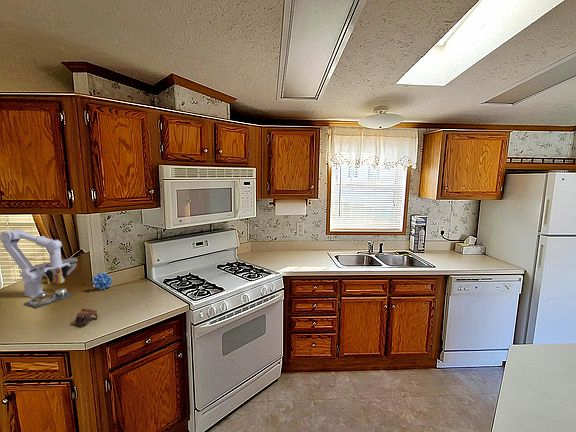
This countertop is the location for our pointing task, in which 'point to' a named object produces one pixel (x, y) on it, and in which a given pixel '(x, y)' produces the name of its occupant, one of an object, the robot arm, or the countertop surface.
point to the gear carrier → (56, 297)
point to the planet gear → (42, 297)
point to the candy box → (55, 275)
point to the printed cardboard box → (70, 260)
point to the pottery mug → (85, 316)
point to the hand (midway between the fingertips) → (58, 279)
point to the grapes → (102, 281)
